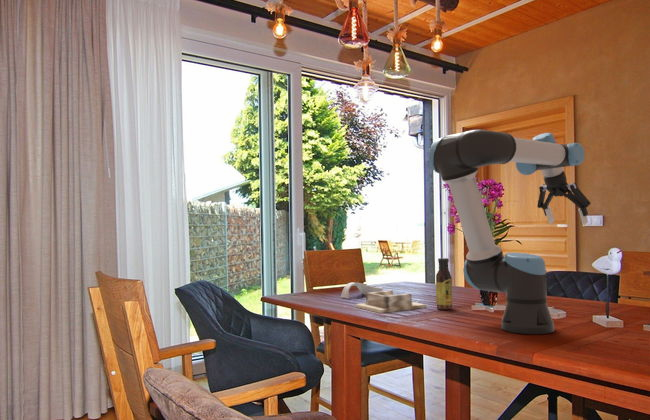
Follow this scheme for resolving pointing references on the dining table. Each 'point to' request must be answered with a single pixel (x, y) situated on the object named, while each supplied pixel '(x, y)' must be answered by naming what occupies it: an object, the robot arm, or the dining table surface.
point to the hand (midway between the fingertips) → (568, 223)
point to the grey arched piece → (361, 287)
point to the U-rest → (389, 302)
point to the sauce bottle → (443, 285)
